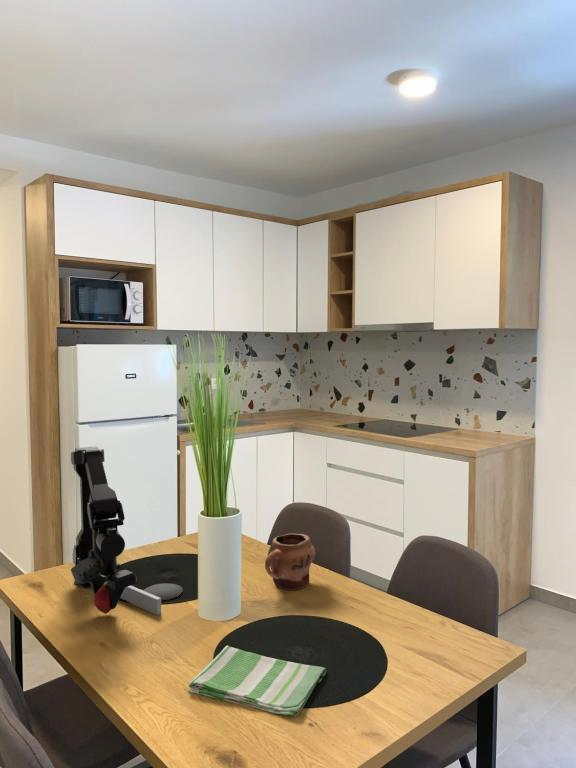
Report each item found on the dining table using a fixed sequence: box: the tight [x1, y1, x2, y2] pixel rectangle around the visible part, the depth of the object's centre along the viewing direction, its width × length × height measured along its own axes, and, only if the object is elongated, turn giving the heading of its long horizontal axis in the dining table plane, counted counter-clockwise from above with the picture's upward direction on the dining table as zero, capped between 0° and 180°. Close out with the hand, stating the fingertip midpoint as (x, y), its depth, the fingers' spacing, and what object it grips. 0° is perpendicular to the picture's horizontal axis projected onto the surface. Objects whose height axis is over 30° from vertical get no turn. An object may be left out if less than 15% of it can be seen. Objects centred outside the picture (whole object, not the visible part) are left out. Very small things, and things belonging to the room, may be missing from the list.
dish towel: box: [187, 645, 327, 717], centre depth 123 cm, size 18×23×3 cm
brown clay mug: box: [264, 533, 316, 591], centre depth 172 cm, size 20×12×14 cm, turn 147°
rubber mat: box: [142, 583, 184, 602], centre depth 168 cm, size 11×11×1 cm
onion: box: [93, 581, 113, 614], centre depth 154 cm, size 6×6×8 cm
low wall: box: [120, 585, 162, 616], centre depth 161 cm, size 20×1×4 cm, turn 50°
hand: (105, 605), depth 154 cm, fingers closed on onion, 6 cm apart
